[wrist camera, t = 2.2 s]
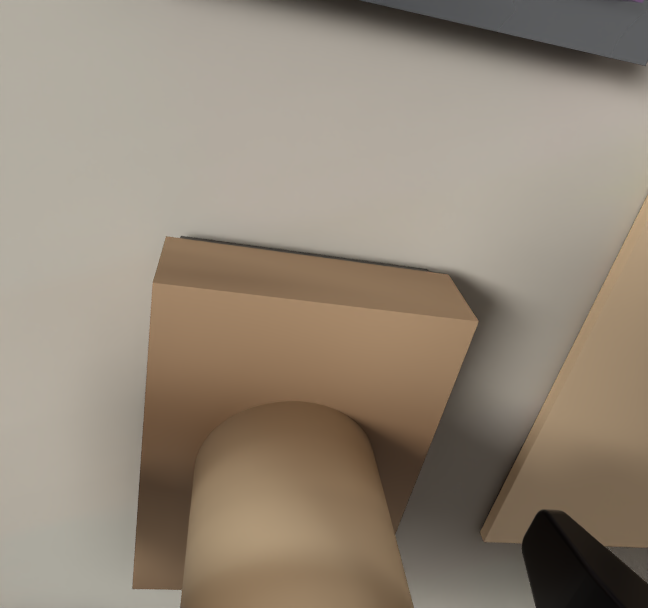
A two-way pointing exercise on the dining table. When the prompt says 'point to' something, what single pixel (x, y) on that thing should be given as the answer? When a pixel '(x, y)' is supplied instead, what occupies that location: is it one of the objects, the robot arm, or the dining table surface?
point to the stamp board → (592, 421)
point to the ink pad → (551, 22)
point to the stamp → (288, 423)
